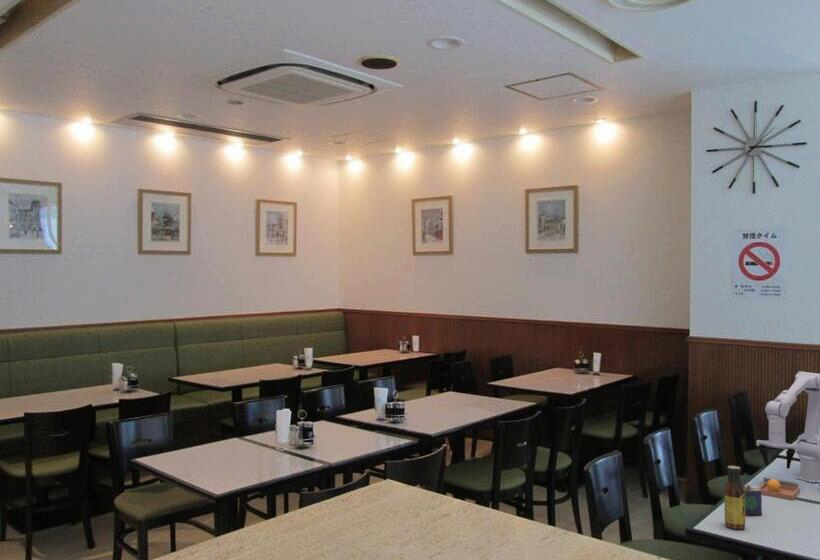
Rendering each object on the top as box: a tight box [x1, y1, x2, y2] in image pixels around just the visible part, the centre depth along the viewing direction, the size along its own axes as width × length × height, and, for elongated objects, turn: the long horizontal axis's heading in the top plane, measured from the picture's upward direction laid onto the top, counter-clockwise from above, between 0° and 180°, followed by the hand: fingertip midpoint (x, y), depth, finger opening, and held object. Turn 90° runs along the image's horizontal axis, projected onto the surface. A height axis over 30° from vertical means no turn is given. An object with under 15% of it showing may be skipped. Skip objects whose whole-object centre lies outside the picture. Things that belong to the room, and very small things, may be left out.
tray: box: [757, 481, 801, 501], centre depth 257 cm, size 12×12×2 cm
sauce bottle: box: [723, 465, 746, 530], centre depth 223 cm, size 6×6×20 cm
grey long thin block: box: [763, 477, 799, 488], centre depth 263 cm, size 1×12×3 cm, turn 49°
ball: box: [767, 478, 781, 492], centre depth 258 cm, size 5×5×5 cm
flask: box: [743, 483, 763, 517], centre depth 234 cm, size 9×3×11 cm, turn 88°
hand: (777, 466), depth 263 cm, fingers open, 7 cm apart
